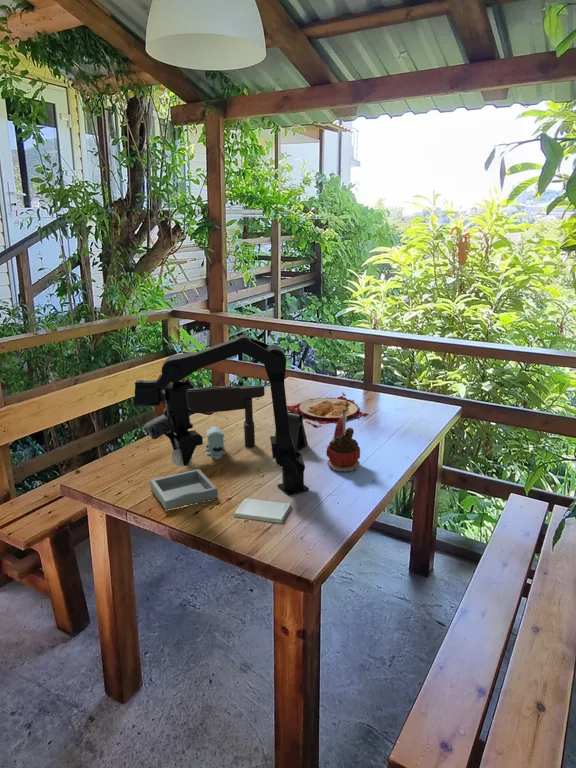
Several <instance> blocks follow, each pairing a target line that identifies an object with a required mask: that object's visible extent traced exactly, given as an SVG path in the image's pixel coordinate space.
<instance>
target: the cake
mask: <svg viewBox="0 0 576 768" xmlns="http://www.w3.org/2000/svg"><path fill="white" fill-rule="evenodd" d="M346 421H348V419H347V416H346V409H343V415H340V417H339V420H338V422H336V426H335V428H334V429H335V430H334V433H333V437H332V439H331V441H329V445H327V447H326V450H325V451H326V452H325V453H326V454H325V455H326V457H327V458H328V459H327V464H326V465H327V467H329V468H330V469H332V470H333V471H334V470H335V471H338V472H341V471H342V472H349V471H353V470H358V468H359V467H360V465H361V463H360V461H359V459H361V447H360V446H359V443H358V442H357V440H356V439H354V438H353V437H354V436H353V435H354V431H355V430H354V429H353V428H351V427H347V426H346V425H347V424H346V423H347V422H346ZM346 427H347V428H346Z"/></svg>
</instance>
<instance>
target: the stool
mask: <svg viewBox="0 0 576 768" xmlns="http://www.w3.org/2000/svg"><path fill="white" fill-rule="evenodd" d="M163 393H164V400H163V402H160V404H159V405H166V399H165V391H163ZM264 396H265V386H264V385H235V386H232V385H219V386H218V385H216V386H203V387H194V388H193V389H188V402H189V408H190V409H191V410H192V413H189V415H190V414H191V415H192V414H201V413H202V414H203V413H204V414H205V413H218V412H232V411H237V410H244V421H243V429H244V430H243V432H244V434H243V435H244V446H245V448H247V449H254V448H255V447H256V439H255V437H256V436H255V432H256V431H255V421H254V415H253V414H254V413H253V399H256V398H263V397H264ZM205 433H206V438H207V443H205V447H206V456H208V457H209V456H211V458H213V459H215V460H218V459H221V458H222V457H223V455H226V454H227V453H226V450H225V448H226V447H225V445H224V444H225V443H224V437H225V433H224V430H223V429H222V428H220V427H218V426H214V425H213V426H210V428H209V429H207V430H206V432H205Z"/></svg>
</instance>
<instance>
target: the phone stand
mask: <svg viewBox="0 0 576 768" xmlns="http://www.w3.org/2000/svg"><path fill="white" fill-rule="evenodd" d="M287 412H288V421H289V430H290V433H291V436H292V440H293V443H294V446H295V449H296V450H297V451H299V452H300V451H301V450H303V449H305V448H306V447H308V446H309V443H308V439H307V434H306V430H305V426H304V419H303V415H302V414H298V413H293V411H287Z"/></svg>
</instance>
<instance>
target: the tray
mask: <svg viewBox="0 0 576 768" xmlns="http://www.w3.org/2000/svg"><path fill="white" fill-rule="evenodd" d="M149 484H150V490H151V489H152V490H153V492H154V493H155V495H156V496H157V498H158V499H159V501H160V502H161V504H162V505H163V507H164V508H165V509H166V510H168V509H172V508H177V507H181V506H184V505H190V504H195V503H199V504H201V503H200V502H203V501H207V502H209V501H208V500H211V501H214V500H213V499H215V500H218V499H219V497H218V496H219V495H218V493H219V491H218V487H216V485H214V483H213V482H212V481H211V480H210V478H208V477H207V476H206V474H204V473H203V472H202V470H201V469H200V468H196V469H193V470H188V471H184V472H180V473H179V472H178V473H175V474H171V475H167V476H161V477H158V478H153V479H150V480H149ZM153 492H152V493H153ZM155 495H154V496H155ZM157 498H156V499H157ZM158 499H157V500H158ZM159 501H158V502H159ZM160 502H159V503H160ZM203 503H204V502H203ZM161 504H160V505H161ZM162 505H161V506H162ZM163 507H162V508H163ZM164 508H163V509H164Z"/></svg>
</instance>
